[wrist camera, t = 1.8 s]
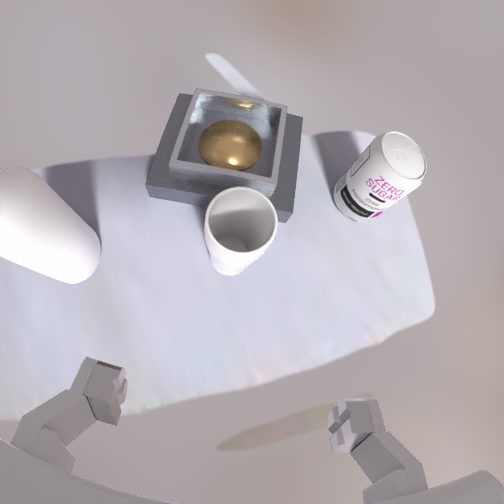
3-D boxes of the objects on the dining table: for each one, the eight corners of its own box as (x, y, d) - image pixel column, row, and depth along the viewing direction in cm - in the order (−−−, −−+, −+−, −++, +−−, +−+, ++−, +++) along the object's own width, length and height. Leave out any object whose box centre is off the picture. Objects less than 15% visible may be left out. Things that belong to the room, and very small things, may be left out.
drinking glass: (194, 256, 41) (188, 218, 27) (229, 223, 43) (241, 172, 29) (229, 292, 41) (242, 272, 26) (264, 257, 42) (294, 220, 28)
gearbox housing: (149, 196, 42) (140, 172, 35) (180, 108, 47) (178, 78, 39) (285, 222, 44) (300, 202, 37) (296, 131, 49) (309, 103, 41)
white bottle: (67, 216, 40) (-52, 89, 11) (112, 238, 40) (-4, 97, 11) (42, 269, 37) (-109, 188, 8) (87, 295, 37) (-77, 228, 9)
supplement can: (370, 179, 49) (418, 132, 34) (380, 224, 47) (437, 187, 32) (328, 176, 47) (370, 123, 33) (336, 224, 45) (387, 182, 31)
